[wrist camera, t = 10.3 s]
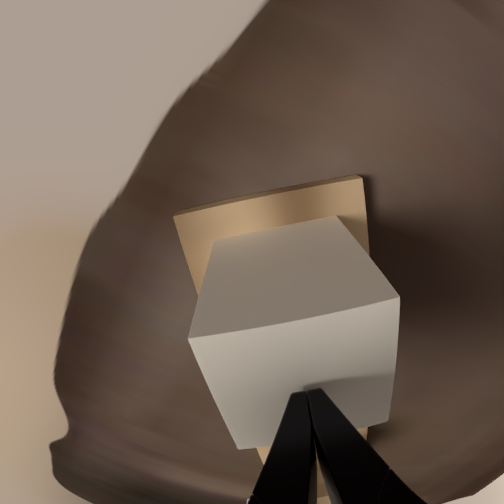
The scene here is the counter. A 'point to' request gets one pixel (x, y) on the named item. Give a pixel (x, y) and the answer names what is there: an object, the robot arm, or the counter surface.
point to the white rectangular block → (295, 327)
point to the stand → (270, 216)
